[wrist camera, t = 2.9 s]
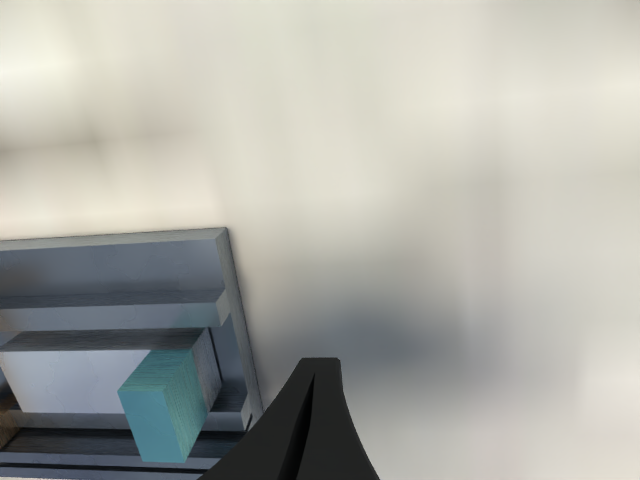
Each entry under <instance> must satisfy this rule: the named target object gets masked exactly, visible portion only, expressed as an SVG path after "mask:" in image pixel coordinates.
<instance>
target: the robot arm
mask: <svg viewBox="0 0 640 480" xmlns="http://www.w3.org/2000/svg"><path fill="white" fill-rule="evenodd" d="M197 480H380V479H379V477H378V475H377V473H376V471H375V470H374V468H373V466H372V464H371V462H370V460H369V458H368V456H367V454H366V452H365V450H364V448H363V446H362V443H361V441H360V439H359V437H358V434H357V432H356V429H355V427H354V424H353V421H352V419H351V416H350V413H349V410H348V407H347V404H346V400H345V396H344V393H343V385H342V374H341V364H340V360H339V359H338V358H302V359H301V360H300V361H299V363H298V365H297V366H296V368H295V370H294V371H293V373H292V374H291V376H290V377H289V379H288V381H287V382H286V384H285V385H284V387H283V388H282V389H281V391H280V392H279V394H278V395H277V396H276V398H275V399H274V401H273V402H272V403H271V405H270V406H269V407H268V408H267V410H266V411H265V412H264V413H263V415H262V416H261V417H260V418H259V420H258V421H257V422H256V423H255V424H254V426H253V427H252V428H251V429H250V430H249V431H248V432H247V433H246V434H245V436H244V437H243V438H242V439H241V440H240V441H239V442H238V443H237V444H236V445H235V446H234V447H233V448H232V449H231V450H230V451H229V452H228V453H227V454H226V455H225V456H223V457H222V458H221V459H220V460H219V461H218V462H217V463H216V464H215V465H214V466H212V467H211V468H210V469H209V470H208V471H206V472H205V473H204V474H203V475H202V476H200V477H199V478H198V479H197Z"/></svg>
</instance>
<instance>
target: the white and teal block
mask: <svg viewBox="0 0 640 480" xmlns="http://www.w3.org/2000/svg"><path fill="white" fill-rule="evenodd" d="M0 367H1V369H2V371H3V373H4V375H5V377H6V379H7V381H8V383H9V385H10V387H11V389H12V391H13V393H14V395H15V397H16V399H17V401H18V403H19V405H20V407H21V409H22V411H23V412H38V413H121V414H125V415H126V418H127V420H128V423H129V426H130V428H131V431H132V434H133V437H134V439H135V442H136V445H137V447H138V450H139V453H140V455H141V458H142V461H143V462H173V463H185V461H186V459H187V457H188V455H189V453H190V451H191V449H192V447H193V445H194V443H195V441H196V439H197V437H198V435H199V432H200V430H201V428H202V426H203V424H204V422H205V420H206V418H207V416H208V414H209V412H210V410H211V408H212V406H213V404H214V402H215V399H216V397H217V395H218V393H219V391H220V389H221V387H222V383H221V379H220V375H219V371H218V367H217V363H216V359H215V354H214V350H213V346H212V342H211V338H210V334H209V330H208V327H191V328H145V329H99V330H53V331H22V332H21V333H20V334H18V335H17V336H15V337H14V338H12V339H11V340H10V341H8V342H7V343H5V344H4V345H2V346H1V347H0Z"/></svg>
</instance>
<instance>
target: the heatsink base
mask: <svg viewBox="0 0 640 480" xmlns="http://www.w3.org/2000/svg"><path fill="white" fill-rule="evenodd" d="M191 327H208V330H209V334H210V338H211V342H212V346H213V350H214V354H215V359H216V363H217V367H218V371H219V375H220V379H221V383H222V387H221V389H220V391H219V393H218V395H217V397H216V399H215V402H214V404H213V406H212V408H211V410H210V412H209V414H208V416H207V418H206V420H205V422H204V424H203V426H202V428H201V430H200V432H199V435H198V437H197V439H196V441H195V443H194V445H193V447H192V449H191V451H190V453H189V455H188V457H187V459H186V461H185V463H173V462H143V461H142V458H141V455H140V453H139V450H138V447H137V445H136V442H135V439H134V437H133V434H132V431H131V428H130V426H129V423H128V420H127V418H126V415H125V414H121V413H38V412H23V411H22V409H21V407H20V405H19V403H18V401H17V399H16V397H15V395H14V393H13V391H12V389H11V387H10V385H9V383H8V381H7V379H6V377H5V375H4V373H3V371H2V369H1V367H0V477H22V478H48V479H73V480H197V479H198V478H199V477H200V476H202V475H203V474H204V473H205V472H206V471H208V470H209V469H210V468H211V467H212V466H214V465H215V464H216V463H217V462H218V461H219V460H220V459H221V458H222V457H223V456H225V455H226V454H227V453H228V452H229V451H230V450H231V449H232V448H233V447H234V446H235V445H236V444H237V443H238V442H239V441H240V440H241V439H242V438H243V437H244V436H245V434H246V433H247V432H248V431H249V430H250V429H251V428H252V427H253V426H254V424H255V423H256V422H257V421H258V420H259V418H260V417H261V416H262V415H263V409H262V404H261V399H260V394H259V389H258V384H257V379H256V374H255V369H254V364H253V359H252V354H251V349H250V344H249V339H248V334H247V328H246V323H245V318H244V313H243V308H242V303H241V298H240V293H239V288H238V283H237V278H236V273H235V268H234V263H233V258H232V253H231V248H230V243H229V238H228V233H227V228H212V229H195V230H178V231H161V232H145V233H128V234H111V235H94V236H78V237H61V238H44V239H27V240H10V241H0V347H1V346H2V345H4V344H5V343H7V342H8V341H10V340H11V339H12V338H14V337H15V336H17V335H18V334H20V333H21V332H22V331H53V330H99V329H145V328H191Z"/></svg>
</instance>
